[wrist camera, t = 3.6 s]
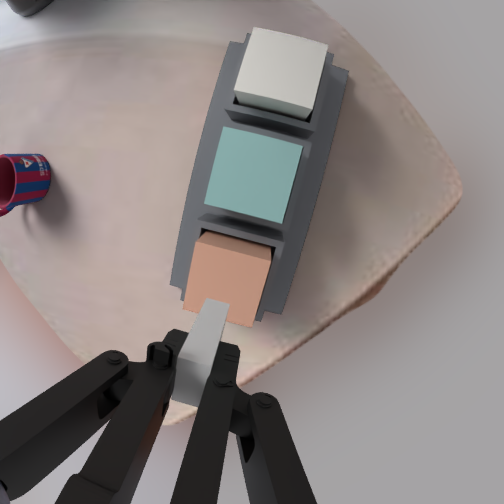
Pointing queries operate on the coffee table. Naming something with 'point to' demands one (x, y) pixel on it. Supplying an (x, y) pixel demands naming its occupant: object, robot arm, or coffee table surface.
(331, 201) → the coffee table surface
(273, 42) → the ivory key
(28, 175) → the mug
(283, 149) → the teal key
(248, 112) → the console
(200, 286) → the terracotta key
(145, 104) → the coffee table surface
